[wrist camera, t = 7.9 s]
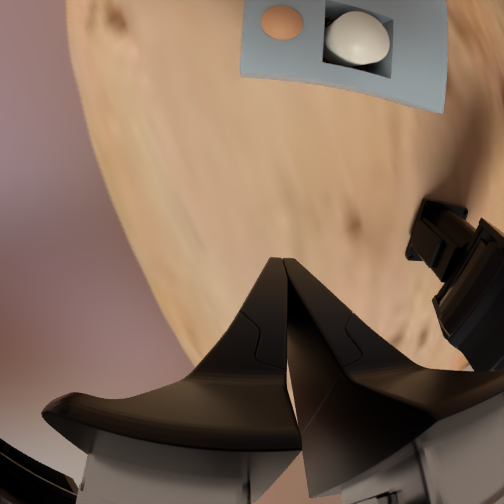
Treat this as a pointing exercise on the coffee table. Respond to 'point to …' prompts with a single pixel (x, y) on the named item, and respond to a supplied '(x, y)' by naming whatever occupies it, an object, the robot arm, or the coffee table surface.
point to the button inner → (355, 40)
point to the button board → (371, 83)
